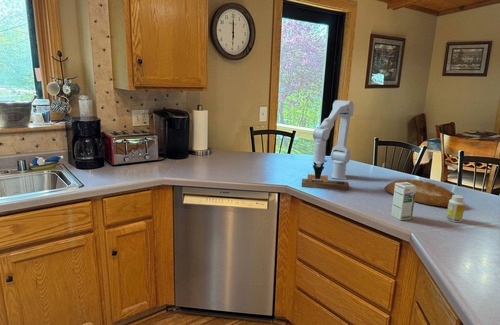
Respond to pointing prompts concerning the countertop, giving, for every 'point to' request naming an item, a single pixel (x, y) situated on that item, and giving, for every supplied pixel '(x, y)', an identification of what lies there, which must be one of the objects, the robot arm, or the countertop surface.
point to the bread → (426, 192)
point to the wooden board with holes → (326, 184)
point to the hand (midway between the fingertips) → (317, 177)
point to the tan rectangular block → (323, 177)
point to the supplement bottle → (455, 208)
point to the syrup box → (403, 201)
